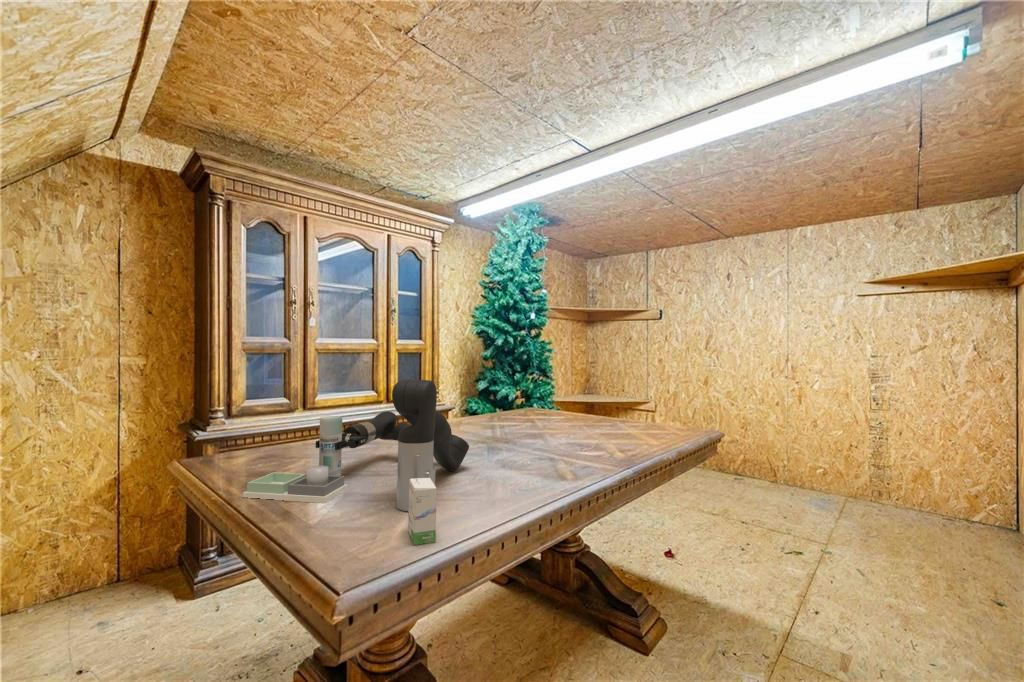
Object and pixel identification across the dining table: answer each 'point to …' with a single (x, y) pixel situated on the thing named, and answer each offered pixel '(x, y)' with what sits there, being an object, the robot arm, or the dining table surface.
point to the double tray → (298, 486)
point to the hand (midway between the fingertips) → (326, 445)
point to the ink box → (422, 510)
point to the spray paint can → (330, 444)
